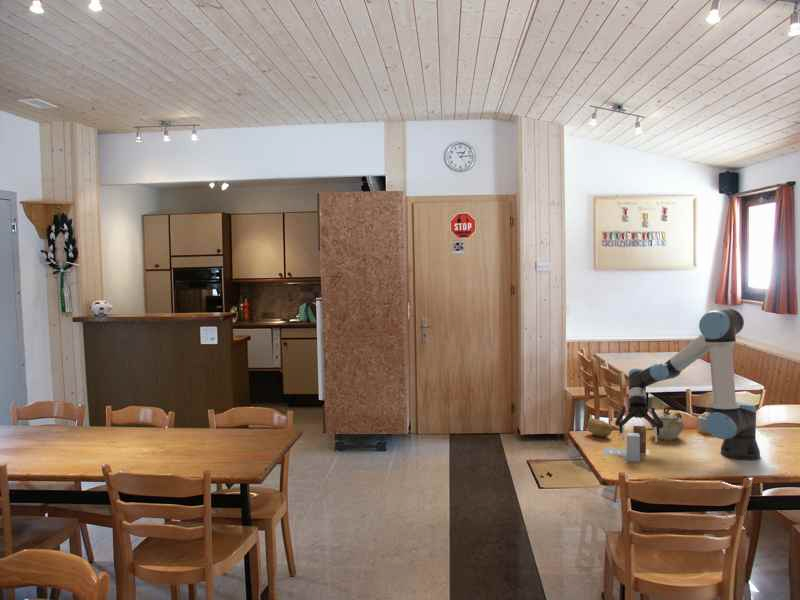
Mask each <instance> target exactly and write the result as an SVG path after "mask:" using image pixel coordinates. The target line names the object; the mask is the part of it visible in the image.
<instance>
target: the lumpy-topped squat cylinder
mask: <svg viewBox="0 0 800 600" xmlns="http://www.w3.org/2000/svg"><path fill="white" fill-rule="evenodd" d="M709 414H710V412H708V411H705V412H703V413H702V414H700V415H698V416H697V431H698V432H699V433H701V434H708V435H712V434H711V433H710V432H709V431H708V429H707V427H706V418H707V417H708V415H709Z"/></svg>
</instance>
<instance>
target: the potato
mask: <svg viewBox="0 0 800 600" xmlns="http://www.w3.org/2000/svg"><path fill="white" fill-rule="evenodd" d="M612 427H613V426H612V425H611V424H610V423H609V422H606V421H604V420H601V419H598V418H590V419H588V420H587V428H588V429H587V430H588V431H589V432H590V433H591V434H592V435H593V436H595V437H599V438H600V437H601V438H606V437H608V436H610V435H611V433H612V432H613V428H612Z"/></svg>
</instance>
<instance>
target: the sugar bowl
mask: <svg viewBox="0 0 800 600" xmlns="http://www.w3.org/2000/svg"><path fill="white" fill-rule="evenodd" d="M656 414H657V416H658V417H659V419H660V420H661V422H662V423H663V428H662V429H661V428H660V429H659V432H660V433H659V435H657V438H659V437H660V438H659V439H661V438H662V439H661V440H668V441H669V440H670V441H671V440H676V439H677V438H678V437H679V435H680V434H681V433H682V432H683V430H684V427H685V423H684V421H683V420H682V419H683V418H682V414H681V413H680V412H677V413H670V407H668V406H665V407H664V408H663V411H662V412H661V413H656ZM651 418H652V419H653V420H654V421H655V419H654V418H653V417H651ZM655 422H656V421H655ZM656 423H657V422H656ZM649 424H650V423H649ZM650 427H651V429H652V430H653V432H654V428H655V427H654V426H653V425H652V424H650Z"/></svg>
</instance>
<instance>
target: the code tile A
mask: <svg viewBox="0 0 800 600" xmlns="http://www.w3.org/2000/svg"><path fill="white" fill-rule="evenodd" d="M602 455H606V456H616V457H617V456H619V457H623V456H627V448H626V449H624V448H613V447H612V448H611V447H602Z"/></svg>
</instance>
